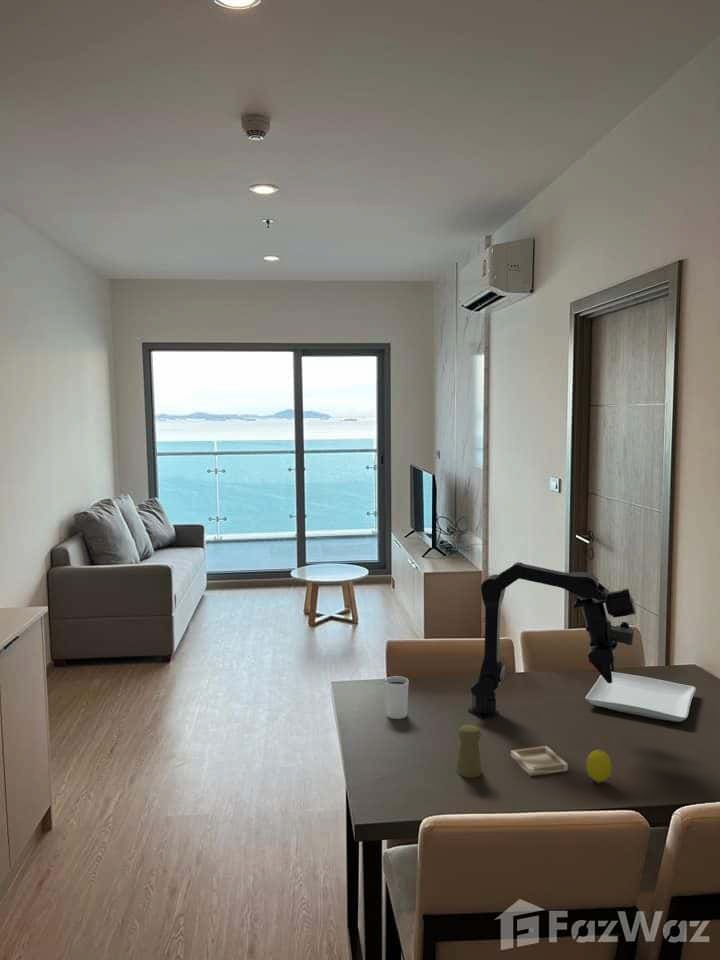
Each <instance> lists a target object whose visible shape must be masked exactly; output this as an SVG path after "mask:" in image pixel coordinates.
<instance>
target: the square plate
mask: <svg viewBox="0 0 720 960" xmlns="http://www.w3.org/2000/svg"><path fill="white" fill-rule="evenodd" d="M696 690H697V687H695V686H693V685H687V684H681V683H677V682H673V681H668V680H662V679H658V678H657V679H656V678H652V677H647V676H642V675H641V676H640V675H636V674H635V675H634V674H629V673H624V672H623V673H622V672H614V671H613V672H612V683H607V681H606V680H605V679H604V678H603V676H602V675H601V674H600V675H599V676H598V679H597V680H596V682H595V683H594V685H593V686H592V688H591V689H590V690H589V692H588V693H587V695H586V696H585V700H587V701H588V702H589V703H590V704H592V705H594V706H596V707H600V708H601V707H602V708H606V709H608V710H612V711H616V712H621V713H624V714H625V713H627V714H631V715H636V716H640V717H641V716H642V717H645V718H651V719H655V720H663V721H671V722H678V723H679V722H680V723H681V722H683V721H685V720H686V719H687V718H688V716H689V713H690V708H691V703H692V700H693V697H694V695H695V693H696Z"/></svg>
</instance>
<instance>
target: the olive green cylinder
mask: <svg viewBox="0 0 720 960" xmlns="http://www.w3.org/2000/svg"><path fill="white" fill-rule="evenodd" d="M481 736H482V735H481V730H480V728H479V727H477V726H476V725H473V724H464V725H462V726H461V727H460V728H459V730H458V739H459V741H460V745H459V751H458V755H457V756H458V759H457V764H456V773H457V774H458V775H459V776H462V777H464V778H468V779H469V778H471V779H475V778H478V777H480V776H481V775H482V773H483V771H482V764H481V754H480V746H479V745H480V744H479V742H480V740H481Z"/></svg>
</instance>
